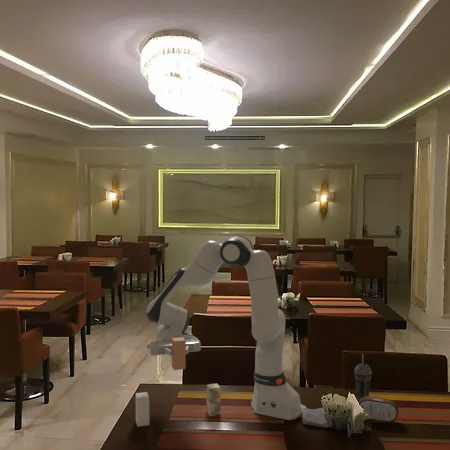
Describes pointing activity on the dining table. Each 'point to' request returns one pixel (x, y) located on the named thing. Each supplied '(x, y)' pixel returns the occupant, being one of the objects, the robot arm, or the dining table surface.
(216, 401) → the birch block
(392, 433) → the dining table surface
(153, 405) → the dining table surface
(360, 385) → the beverage cup
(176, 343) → the terracotta block
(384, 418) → the tin
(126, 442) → the dining table surface
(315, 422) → the stone block
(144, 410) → the white block
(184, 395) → the dining table surface
